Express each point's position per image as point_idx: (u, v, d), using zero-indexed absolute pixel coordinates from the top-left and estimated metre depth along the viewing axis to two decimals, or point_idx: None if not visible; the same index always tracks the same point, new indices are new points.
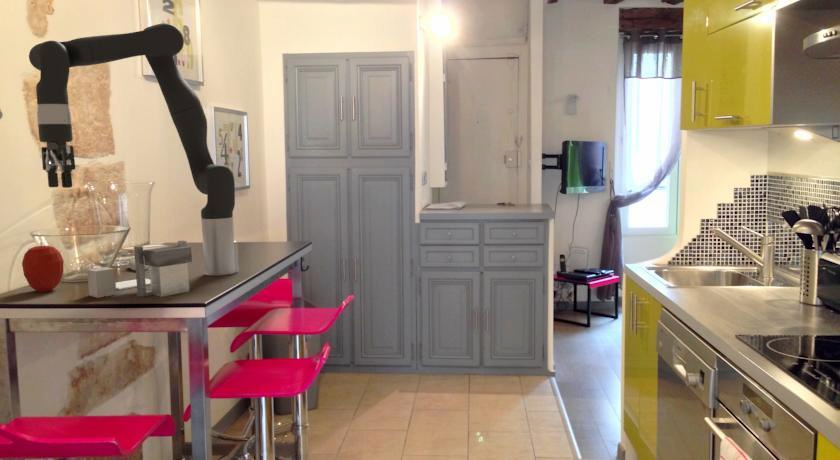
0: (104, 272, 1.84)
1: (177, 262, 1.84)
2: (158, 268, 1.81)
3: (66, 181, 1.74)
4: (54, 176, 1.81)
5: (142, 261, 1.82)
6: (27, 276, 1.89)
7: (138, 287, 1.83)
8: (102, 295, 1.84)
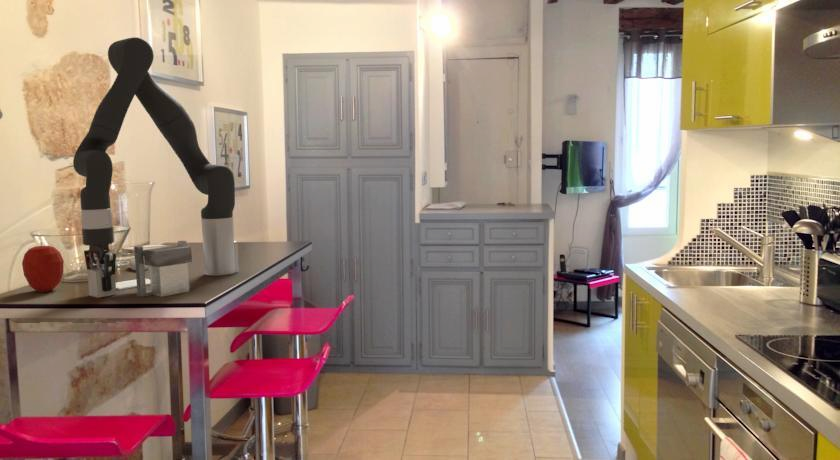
0: None
1: (177, 262, 1.84)
2: (158, 268, 1.81)
3: (106, 285, 1.83)
4: None
5: (142, 261, 1.82)
6: (27, 276, 1.89)
7: (138, 287, 1.83)
8: (102, 295, 1.83)
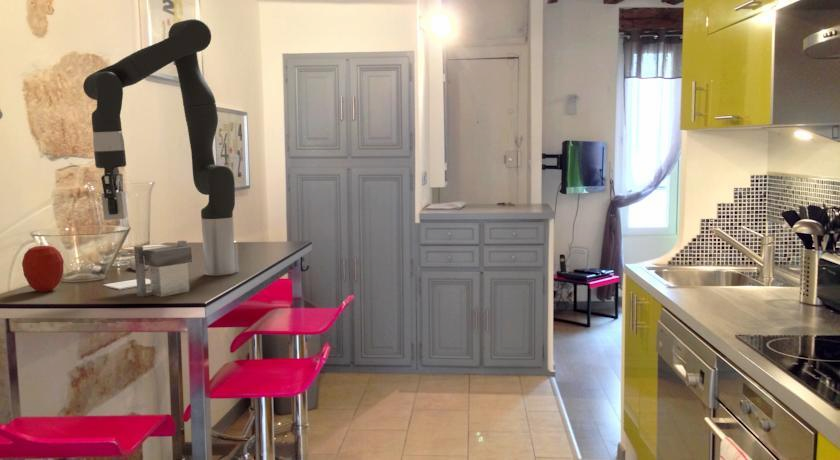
0: None
1: (177, 262, 1.84)
2: (158, 268, 1.81)
3: (110, 208, 1.84)
4: None
5: (142, 261, 1.82)
6: (27, 276, 1.89)
7: (138, 287, 1.83)
8: (109, 218, 1.85)
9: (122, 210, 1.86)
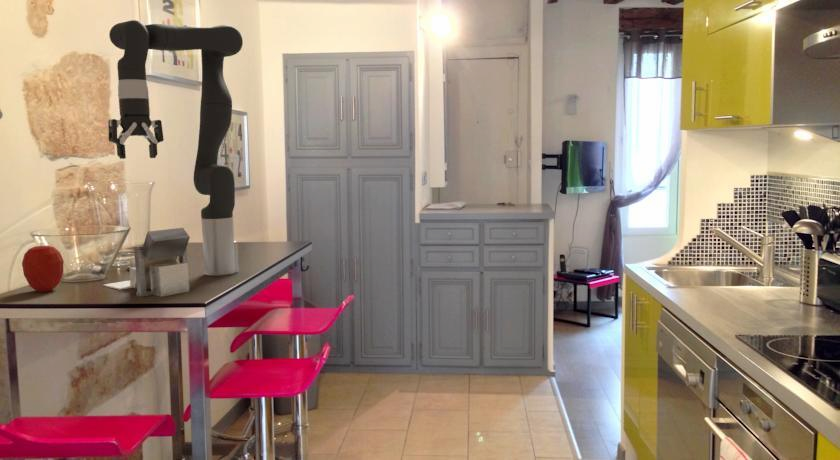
0: (130, 277, 1.96)
1: (174, 238, 1.83)
2: (158, 268, 1.81)
3: (117, 152, 1.86)
4: (151, 147, 1.93)
5: (142, 261, 1.82)
6: (27, 276, 1.89)
7: (138, 287, 1.83)
8: None
9: None
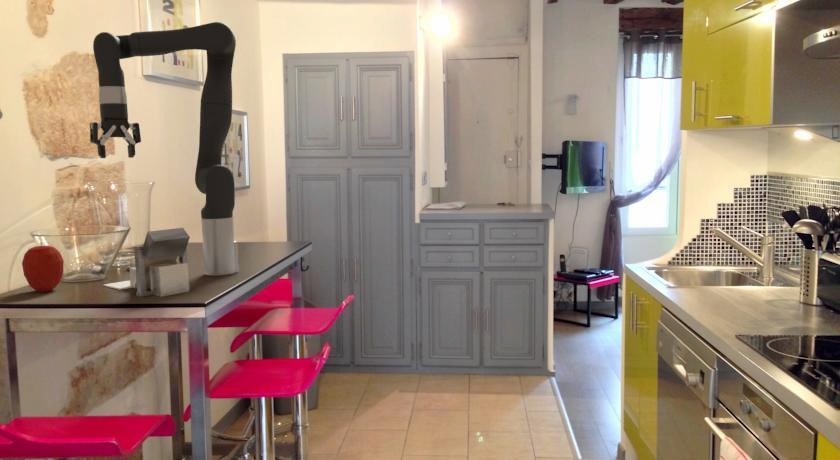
0: (130, 277, 1.96)
1: (174, 238, 1.83)
2: (158, 268, 1.81)
3: (98, 152, 2.05)
4: (129, 148, 2.12)
5: (142, 261, 1.82)
6: (27, 276, 1.89)
7: (138, 287, 1.83)
8: None
9: None
